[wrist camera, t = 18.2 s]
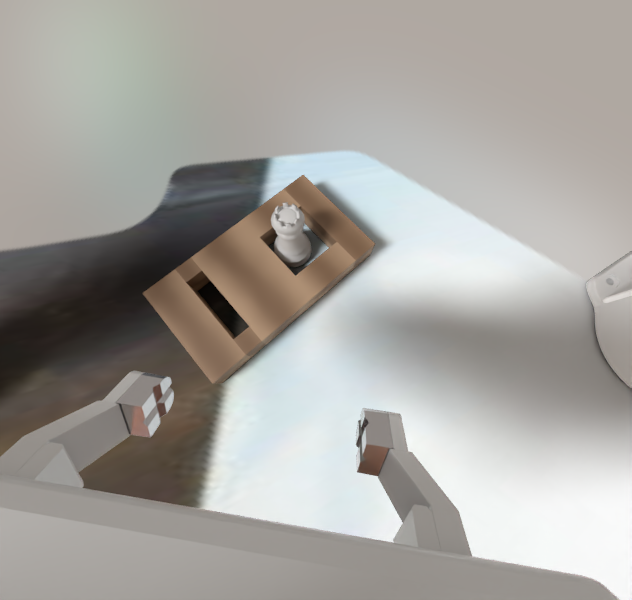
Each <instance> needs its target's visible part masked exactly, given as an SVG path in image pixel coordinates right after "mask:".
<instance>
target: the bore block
mask: <svg viewBox="0 0 632 600" xmlns="http://www.w3.org/2000/svg"><path fill="white" fill-rule="evenodd" d="M285 202H288V205H292V204H295V205H296V206H297V208H299V209H300V210H301V211H302V212H303V214H304V218H305V222H304V223H305V224H306V225H307V226H308V227H309V228H310V229H311V230H312V231H313V232H314V233H315V234H316V235H317V236H318V237H319V238H320V239H321V240H322V241H323V242H324V243H325V244H326V245H327V246H328V247H329V249H327V250H326V251H325V252H324V253H323V254H321V255H320V256H319V257H318V258H316V259H315V260H314V261H313V262H312V263H310V264H309V265H308V266H307V267H306V268H304V269H303V270H302V271H301V272H299V273H298V274H297V275H296V276H295V275H294V274H293V273H292V271H291V270H290V269H289V268H288V267H287V266H286V265H285V264H284V263H283V262H282V261H281V260H280V259H279V258H278V256H277V255H276V254H275V253H274V252H273V251H272V250H271V249H270V248H269V247H268V246H269V245H270V244H272V243H273V242H274V241H275V240H276V238H277V236H278V235H277V233H276V231H275V230H274V228H273V227H272V225H271V217H272V213H273V212H274V211H275V208H276V207H277V206H279V207H281V206H283V203H285ZM374 246H375V243H374V242H373V241H372V240H371V239H370V238H369V237H368V236H367V235H366V234H365V233H363V232H362V231H361V230H360V229H359V228H358V227H357V226H356V225H355V224H354V223H353V222H352V221H351V220H350V219H349V218H348V217H347V216H346V215H345V214H344V213H343V212H342V211H341V210H340V209H338V208H337V207H336V206H335V205H334V204H333V203H332V202H331V201H330V200H329V199H328V198H327V197H326V196H325V195H324V194H323V193H322V192H321V191H320V190H319V189H318V188H317V187H316V186H315V185H313V184H312V183H311V182H310V181H309V180H308V179H307V178H306V177H305V176H304V175H302V176H301V177H299V178H298V179H297V180H295V181H294V182H293V183H291V184H290V185H288V186H287V187H286V188H284V189H283V190H282V191H280V192H279V193H278V194H276V195H275V196H274V197H272V198H271V199H270V200H268V201H267V202H265V203H264V204H263V205H261V206H260V207H259V208H257V209H256V210H255V211H253V212H252V213H251V214H249V215H248V216H246V217H245V218H244V219H242V220H241V221H240V222H238V223H237V224H236V225H234V226H233V227H232V228H230V229H229V230H227V231H226V232H225V233H223V234H222V235H221V236H219V237H218V238H217V239H215V240H214V241H213V242H211V243H210V244H208V245H207V246H206V247H204V248H203V249H202V250H200V251H199V252H198V253H196V254H195V255H194V256H192V257H191V258H189V259H188V260H187V261H185V262H184V263H183V264H181V265H180V266H179V267H177V268H176V269H175V270H173V271H172V272H170V273H169V274H168V275H166V276H165V277H164V278H162V279H161V280H160V281H158V282H157V283H156V284H154V285H153V286H151V287H150V288H149V289H147V290H146V291H145V292H143V295H144V296H145V297H146V298H147V300H148V301H149V302H150V304H151V305H152V306H153V307H154V309H155V310H156V311H157V313H158V314H159V315H160V317H161V318H162V319H163V320H164V322H165V323H166V324H167V326H168V327H169V328H170V329H171V331H172V332H173V333H174V335H175V336H176V337H177V338H178V340H179V341H180V342H181V344H182V345H183V346H184V347H185V349H186V350H187V351H188V353H189V354H190V355H191V357H192V358H193V359H194V360H195V362H196V363H197V364H198V366H199V367H200V368H201V369H202V371H203V372H204V373H205V375H206V376H207V377H208V378H209V380H210V381H211V382H212V384H215V383H223V382H224V381H225V380H226V379H227V378H229V377H230V376H231V375H232V374H233V373H234V372H236V371H237V370H238V369H239V368H240V367H241V366H242V365H244V364H245V363H246V362H247V361H248V360H249V359H251V358H252V357H253V356H254V355H255V354H256V353H257V352H259V351H260V350H261V349H262V348H263V347H264V346H266V345H267V344H268V343H269V342H270V341H271V340H273V339H274V338H275V337H276V336H277V335H278V334H279V333H281V332H282V331H283V330H284V329H285V328H286V327H288V326H289V325H290V324H291V323H292V322H293V321H294V320H296V319H297V318H298V317H299V316H300V315H301V314H303V313H304V312H305V311H306V310H307V309H308V308H310V307H311V306H312V305H313V304H314V303H315V302H316V301H318V300H319V299H320V298H321V297H322V296H323V295H325V294H326V293H327V292H328V291H329V290H330V289H331V288H333V287H334V286H335V285H336V284H337V283H338V282H340V281H341V280H342V279H343V278H344V277H345V276H346V275H348V274H349V273H350V272H351V271H352V270H353V269H355V268H356V267H357V266H358V265H359V264H360V263H362V262H363V261H364V260H365V259H366V258H367V257H368V256H370V254H371V252H372V250H373V248H374ZM210 281H211V282H212V283H213V284H214V285H215V287H216V288H217V289H218V290H219V291H220V292H221V294H222V295H223V296H224V297H225V298H226V300H227V301H228V302H229V303H230V304H231V305H232V307H233V308H234V309H235V310H236V311H237V313H238V314H239V315H240V316H241V317H242V318H243V320H244V321H245V322H246V323H247V324H248V325H249V327H248V328H247V329H245V330H244V331H243V332H242V333H241V334H239V335H238V336H237V337H235V336H234V335H233V334H232V332H231V331H230V330H229V329H228V328H227V326H226V325H225V324H224V323H223V322H222V320H221V319H220V318H219V317H218V315H217V314H216V313H215V312H214V311H213V309H212V308H211V307H210V306H209V305H208V303H207V302H206V301H205V300H204V299H203V297H202V296H201V295H200V294H199V293H198V290H199V289H201V288H202V287H203V286H205V285H206V284H207V283H209V282H210Z"/></svg>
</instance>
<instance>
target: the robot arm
mask: <svg viewBox="0 0 632 600" xmlns="http://www.w3.org/2000/svg"><path fill="white" fill-rule="evenodd" d="M586 289H587V292H588V295H589V298H590V300H591V302H592V304H593V307H594V311H595V329H596V335H597V339H598V342H599V345H600V348H601V350H602V352H603V355H604V356H605V358H606V360H607V362H608V363H609V365H610V366H611V368H612V369H613V370H614V372H615V373H616V374H617V375H618V376H619V377H620V378H621V380H622V381H623V382H625V383H626V384H627V385H628V386H629V387H630V388H631V389H632V251H630V252H629V253H628V254H626V255H625V256H623V257H622V258H620V259H619V260H617V261H616V262H614V263H613V264H611V265H610V266H609V267H607V268H605V269H604V270H603V271H601V272H600V273H598V274H597V275H595V276H594V277H592V278H591V279H589V280H588V281H587V283H586ZM170 385H171V379H170V377H166V376H160V375H155V374H150V373H144V372H138V371H132V372H130V373H128V374H127V376H126V377H125V378H124V379H123V380H122V381H121V382H120V383H119V384H118V385H117V386H116V387H115V388H114V389H113V390H112V391H111V392H110V393H109V394H108V395H107V396H106V397H105V398H104V400H103V401H96V402H94V403H92V404H90V405H88V406H86V407H84V408H82V409H80V410H78V411H75V412H73V413H71V414H69V415H67V416H65V417H63V418H61V419H59V420H57V421H54V422H52V423H50V424H48V425H46V426H44V427H42V428H40V429H38V430H36V431H33V432H31V433H29V434H27V435H25V436H23V437H22V438H21V439H20V440H19V441H18V442H16V443H15V444H14V445H13V446H12V447H11V448H10V449H9V450H8V451H6V452H5V453H4V454H3V455H2V456H1V457H0V600H619V599H618V598H617V597H616V596H615V595H614V594H613V593H612V592H611V591H610V590H608V589H607V588H606V587H605V586H604V585H603V584H601V583H600V582H598V581H596V580H594V579H592V578H588V577H585V576H581V575H576V574H570V573H564V572H558V571H552V570H547V569H541V568H535V567H530V566H524V565H518V564H513V563H507V562H501V561H495V560H490V559H484V558H478V557H473V556H472V555H471V551H470V548H469V545H468V541H467V538H466V535H465V531H464V528H463V525H462V521H461V518H460V514H459V511H458V510H457V509H456V507H455V506H454V505H453V503H452V502H451V501H450V500H449V498H448V497H447V496H446V495H445V493H444V492H443V491H442V490H441V488H440V487H439V486H438V485H437V483H436V482H435V481H434V480H433V478H432V477H431V476H430V475H429V473H428V472H427V471H426V469H425V468H424V467H423V466H422V464H421V463H420V462H419V461H418V459H417V458H416V457H415V456H414V454H413V453H412V452H408V448H407V443H406V438H405V433H404V428H403V423H402V418H401V415H400V414H398V413H392V412H386V411H380V410H373V409H367V408H363V409H362V411H361V420H359V421H358V425H357V431H356V445H357V447H358V448H359V449H358V452H357V455H356V459H357V472H359V473H364V474H369V475H374V476H379V477H378V478H379V480H380V482H381V484H382V485H383V487H384V489H385V491H386V493H387V495H388V496H389V498H390V500H391V502H392V504H393V506H394V507H395V509H396V511H397V513H398V515H399V517H400V518H401V520H402V522H403V524H402V526H401V527H400V529H399V531H398V533H397V534H396V536H395V538H394V539H393V541H394V543H392V542H387V541H381V540H375V539H369V538H364V537H358V536H352V535H347V534H341V533H335V532H330V531H324V530H318V529H313V528H307V527H301V526H296V525H290V524H284V523H278V522H273V521H267V520H261V519H256V518H250V517H244V516H239V515H233V514H227V513H222V512H216V511H210V510H204V509H199V508H193V507H187V506H182V505H176V504H170V503H165V502H159V501H153V500H147V499H142V498H136V497H130V496H124V495H119V494H113V493H107V492H102V491H96V490H90V489H84V488H82V487H83V480H82V479H81V477H80V475H79V473H78V472H79V471H81V470H82V469H83V468H85V467H86V466H88V465H89V464H91V463H92V462H93V461H95V460H96V459H98V458H99V457H100V456H102V455H103V454H105V453H106V452H108V451H109V450H110V449H112V448H113V447H115V446H116V445H117V444H119V443H120V442H122V441H123V440H124V439H126V438H127V437H129V436H130V435H137V436H144V437H151V436H152V435H153V433H154V432H155V430H156V429H157V427H158V426H159V424H160V417H162V416H163V415H165V414H167V412H168V411H169V409H170V408H171V405H172V403H173V398H174V393H173V390H172V389H171V388H170V387H169V386H170ZM129 434H130V435H129Z"/></svg>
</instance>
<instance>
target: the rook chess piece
mask: <svg viewBox="0 0 632 600" xmlns="http://www.w3.org/2000/svg"><path fill="white" fill-rule="evenodd" d="M304 222H305V218H304V214H303V212H302V211H301V210H300V209H299V208H297V206H296V205H295V204H292V205H288V202H285V203H283V206H281V207H279V206H277V207H276V208H275V211H274V212H273V213H272V217H271V225H272V227H273V228H274V230H275V231H276V233H277V235H278V236H277V238H276V240H275V243H274V253H275V254H276V255H277V256H278V258H279V259H280V260H281V261H282V262H283V263H284V264H285V265H286V266H287V267H298V266H301V265H303V264H304V263H306V262H307V260H308V259H309V258H310V255H311V252H312V249H311V244H310V240H309V239H308V237H307V236H306V234H305V233H303V232H302V231H303V225H304Z"/></svg>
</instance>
